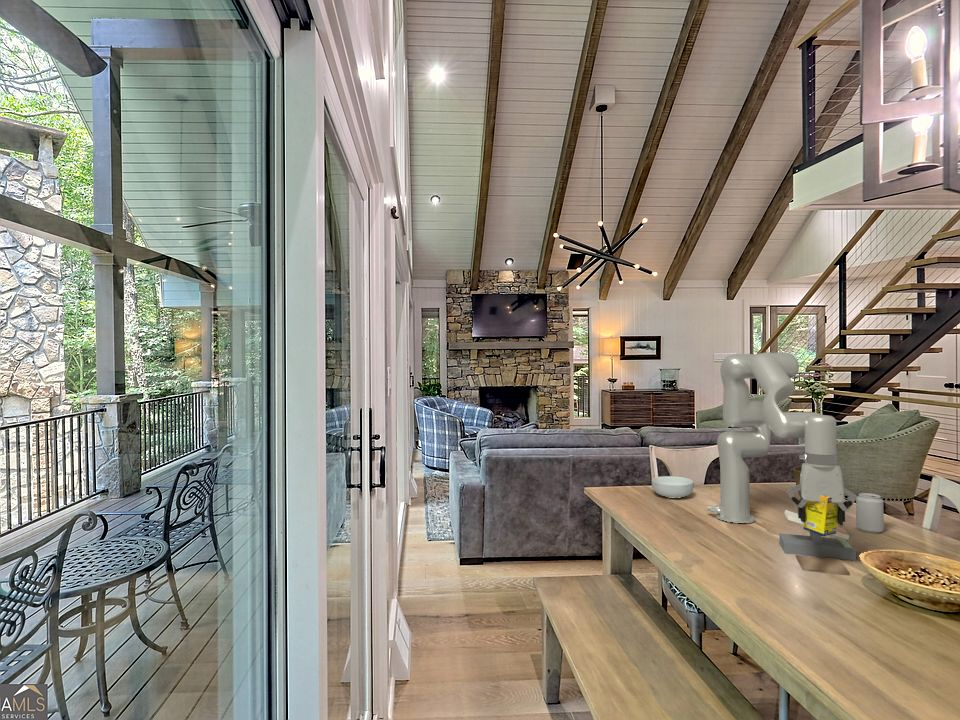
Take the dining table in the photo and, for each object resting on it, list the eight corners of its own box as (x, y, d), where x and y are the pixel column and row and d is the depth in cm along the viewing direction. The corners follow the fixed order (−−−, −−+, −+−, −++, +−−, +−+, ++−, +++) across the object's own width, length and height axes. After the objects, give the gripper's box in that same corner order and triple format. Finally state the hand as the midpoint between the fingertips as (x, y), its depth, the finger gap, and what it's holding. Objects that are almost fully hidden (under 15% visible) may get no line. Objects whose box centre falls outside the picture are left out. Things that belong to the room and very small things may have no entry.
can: (888, 534, 183) (887, 497, 183) (862, 533, 185) (862, 496, 185) (877, 528, 191) (876, 492, 191) (852, 526, 192) (852, 491, 192)
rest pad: (802, 570, 153) (802, 567, 153) (795, 556, 163) (795, 554, 163) (849, 575, 149) (849, 573, 149) (839, 561, 159) (839, 559, 159)
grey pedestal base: (784, 553, 166) (784, 530, 166) (779, 542, 176) (779, 521, 176) (855, 560, 160) (855, 536, 160) (846, 549, 169) (846, 526, 169)
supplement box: (823, 537, 153) (827, 497, 152) (802, 529, 158) (805, 491, 157) (836, 534, 155) (840, 495, 155) (815, 526, 161) (818, 488, 160)
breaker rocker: (787, 519, 167) (789, 514, 167) (784, 513, 174) (785, 509, 174) (848, 539, 162) (849, 535, 162) (842, 532, 169) (843, 528, 168)
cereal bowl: (647, 492, 245) (647, 475, 245) (685, 492, 244) (685, 475, 244) (658, 501, 228) (658, 484, 228) (699, 502, 227) (699, 484, 227)
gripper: (787, 460, 156) (788, 523, 156) (861, 463, 150) (862, 529, 149) (783, 456, 163) (783, 516, 163) (853, 459, 157) (854, 522, 156)
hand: (821, 522), depth 156 cm, fingers closed on supplement box, 8 cm apart
